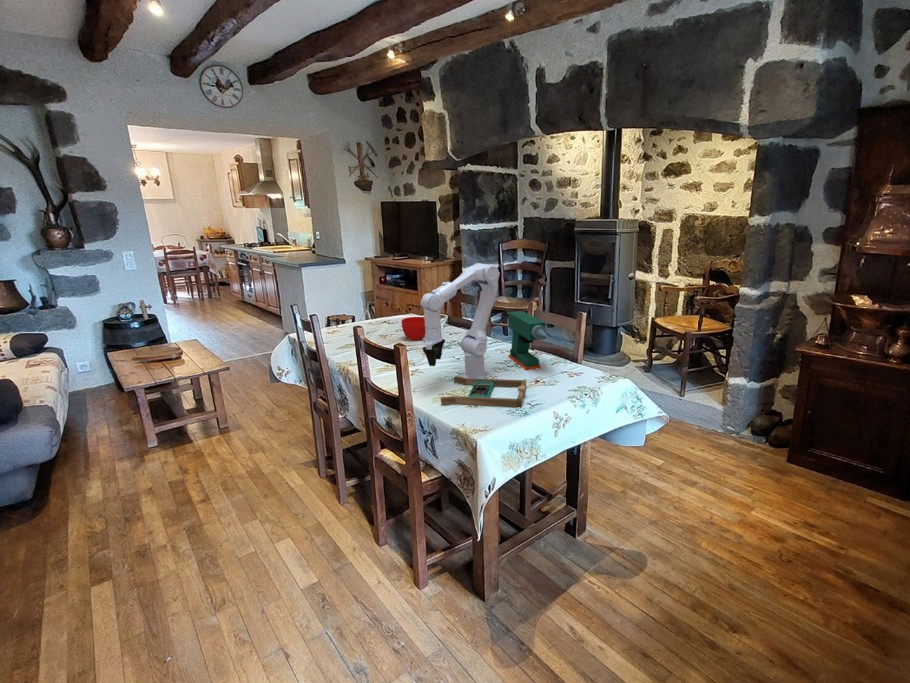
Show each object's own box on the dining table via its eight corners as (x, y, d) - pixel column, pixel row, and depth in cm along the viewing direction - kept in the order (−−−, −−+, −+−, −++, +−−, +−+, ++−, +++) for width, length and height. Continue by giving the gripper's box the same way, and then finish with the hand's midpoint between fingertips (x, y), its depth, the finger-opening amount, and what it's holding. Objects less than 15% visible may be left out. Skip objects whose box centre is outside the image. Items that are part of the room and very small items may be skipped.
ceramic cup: (418, 345, 237) (417, 325, 234) (397, 339, 249) (396, 320, 246) (438, 339, 245) (437, 320, 242) (417, 334, 257) (416, 315, 255)
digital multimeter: (467, 403, 170) (467, 395, 169) (474, 387, 184) (474, 379, 183) (488, 404, 169) (488, 396, 168) (494, 388, 183) (494, 380, 182)
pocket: (454, 382, 189) (454, 373, 188) (527, 385, 182) (527, 376, 182) (440, 405, 168) (439, 396, 167) (522, 409, 162) (522, 400, 161)
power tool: (557, 379, 187) (558, 328, 181) (540, 381, 185) (541, 330, 179) (523, 355, 216) (523, 310, 211) (508, 357, 214) (507, 312, 209)
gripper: (427, 321, 185) (430, 355, 189) (416, 331, 172) (419, 368, 176) (446, 321, 184) (447, 356, 188) (435, 332, 170) (438, 369, 174)
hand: (435, 362), depth 182 cm, fingers open, 7 cm apart
